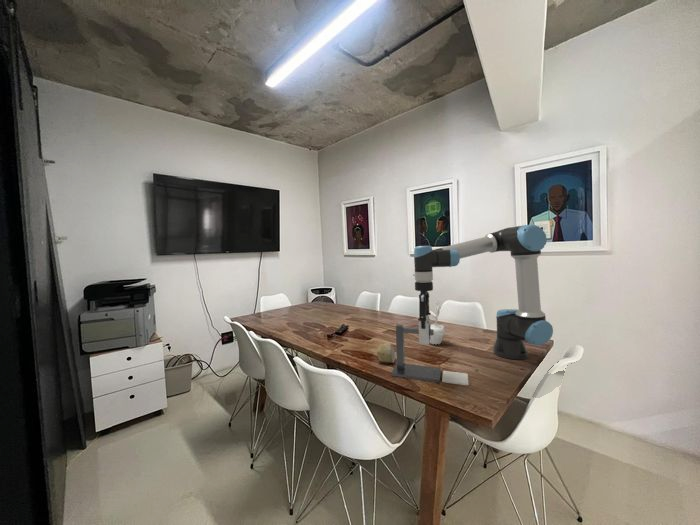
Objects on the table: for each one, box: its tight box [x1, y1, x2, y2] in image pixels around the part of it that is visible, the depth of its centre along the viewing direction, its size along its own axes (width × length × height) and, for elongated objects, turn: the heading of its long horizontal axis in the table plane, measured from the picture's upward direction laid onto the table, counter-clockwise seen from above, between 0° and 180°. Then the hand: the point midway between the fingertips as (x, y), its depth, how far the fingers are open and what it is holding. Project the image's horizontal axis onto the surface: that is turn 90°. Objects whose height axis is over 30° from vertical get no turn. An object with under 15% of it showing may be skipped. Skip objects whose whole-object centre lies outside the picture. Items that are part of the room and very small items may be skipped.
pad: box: [441, 370, 469, 386], centre depth 115 cm, size 10×10×1 cm
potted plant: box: [429, 301, 446, 345], centre depth 160 cm, size 13×12×25 cm
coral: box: [376, 342, 396, 364], centre depth 135 cm, size 10×10×10 cm
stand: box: [391, 323, 442, 383], centre depth 120 cm, size 20×12×21 cm, turn 68°
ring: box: [418, 318, 432, 346], centre depth 119 cm, size 4×9×9 cm, turn 158°
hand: (425, 332), depth 119 cm, fingers closed on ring, 9 cm apart
